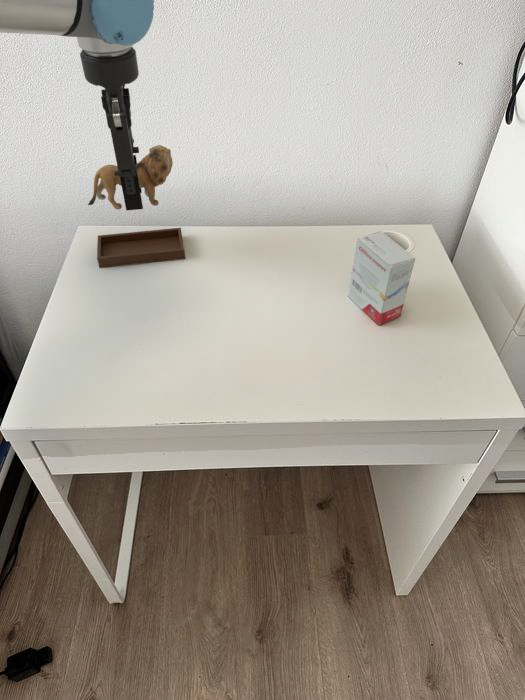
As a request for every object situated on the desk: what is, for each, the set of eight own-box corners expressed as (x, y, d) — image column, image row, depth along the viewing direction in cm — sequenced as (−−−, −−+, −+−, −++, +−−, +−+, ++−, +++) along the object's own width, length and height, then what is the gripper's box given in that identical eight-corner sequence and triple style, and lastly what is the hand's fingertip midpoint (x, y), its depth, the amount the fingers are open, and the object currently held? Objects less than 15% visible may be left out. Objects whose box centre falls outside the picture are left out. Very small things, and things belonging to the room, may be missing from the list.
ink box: (401, 317, 87) (418, 257, 78) (377, 326, 85) (392, 267, 77) (369, 287, 92) (382, 228, 84) (346, 296, 90) (356, 237, 82)
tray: (99, 267, 95) (97, 258, 93) (99, 244, 99) (97, 235, 98) (185, 258, 97) (184, 249, 95) (181, 236, 102) (180, 227, 100)
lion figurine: (172, 185, 94) (167, 136, 87) (179, 202, 91) (175, 154, 84) (86, 199, 90) (74, 149, 83) (91, 217, 87) (78, 168, 80)
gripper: (81, 29, 79) (111, 176, 95) (76, 72, 67) (111, 231, 84) (133, 27, 80) (153, 173, 97) (137, 69, 68) (159, 227, 85)
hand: (134, 200), depth 90 cm, fingers closed on lion figurine, 4 cm apart
